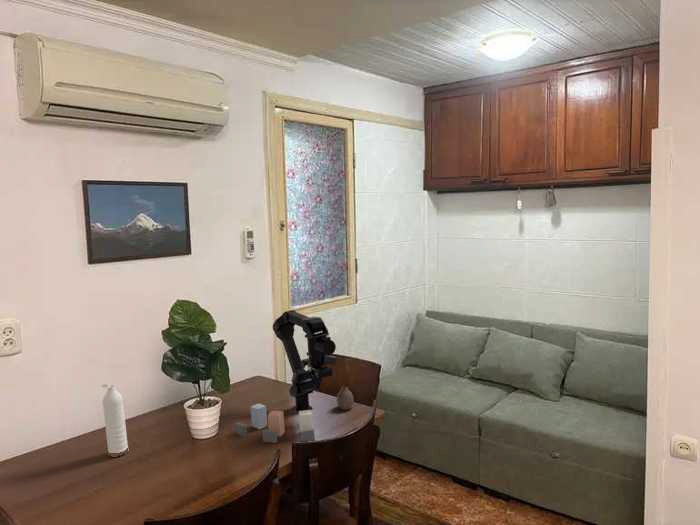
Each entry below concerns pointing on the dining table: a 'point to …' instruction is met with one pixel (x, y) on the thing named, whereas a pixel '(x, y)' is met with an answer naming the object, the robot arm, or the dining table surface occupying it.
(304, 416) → the cream rectangular block
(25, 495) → the dining table surface
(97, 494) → the dining table surface
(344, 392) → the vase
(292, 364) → the robot arm
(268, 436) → the block
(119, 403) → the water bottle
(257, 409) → the gray rectangular block
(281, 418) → the salmon rectangular block
